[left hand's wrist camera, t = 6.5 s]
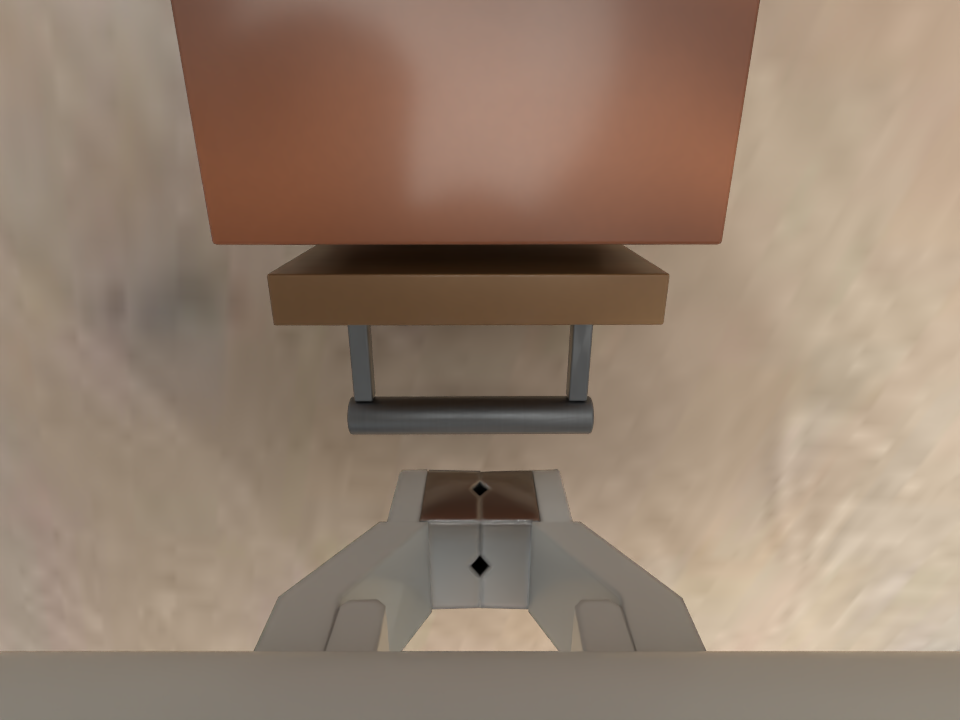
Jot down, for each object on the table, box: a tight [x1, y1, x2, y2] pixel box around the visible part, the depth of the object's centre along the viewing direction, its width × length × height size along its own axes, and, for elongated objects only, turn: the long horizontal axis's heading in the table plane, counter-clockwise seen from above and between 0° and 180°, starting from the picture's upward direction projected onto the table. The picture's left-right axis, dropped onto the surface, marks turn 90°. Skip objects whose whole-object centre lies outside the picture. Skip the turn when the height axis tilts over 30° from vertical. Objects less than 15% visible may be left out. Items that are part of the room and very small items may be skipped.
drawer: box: [267, 244, 669, 435], centre depth 14 cm, size 23×9×8 cm, turn 0°
